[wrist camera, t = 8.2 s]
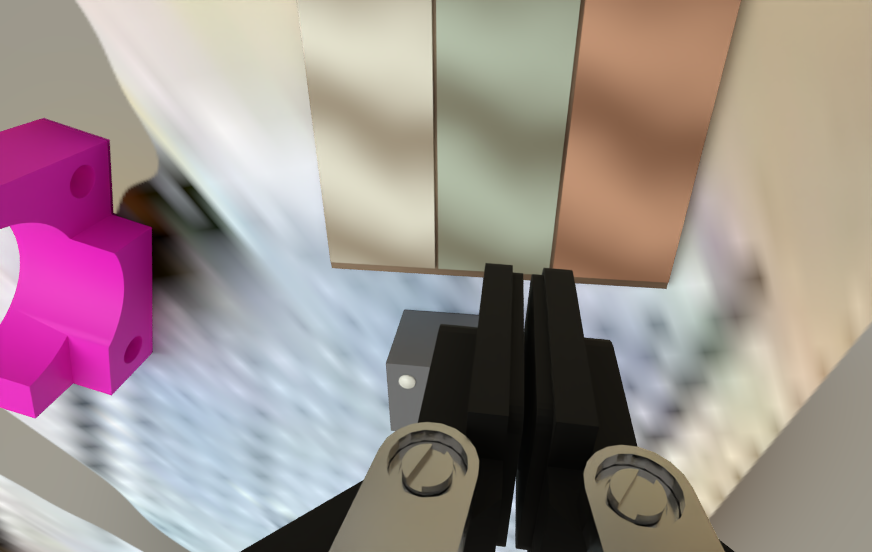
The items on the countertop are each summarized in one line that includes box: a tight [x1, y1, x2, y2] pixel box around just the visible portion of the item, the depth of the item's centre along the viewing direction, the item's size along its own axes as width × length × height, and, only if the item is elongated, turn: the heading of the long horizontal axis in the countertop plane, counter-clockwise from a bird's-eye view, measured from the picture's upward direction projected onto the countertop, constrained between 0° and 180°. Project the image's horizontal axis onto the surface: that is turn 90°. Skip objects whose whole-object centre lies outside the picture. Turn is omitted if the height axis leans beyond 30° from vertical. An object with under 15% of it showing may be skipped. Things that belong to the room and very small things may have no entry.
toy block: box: [0, 118, 153, 418], centre depth 29 cm, size 15×6×8 cm, turn 163°
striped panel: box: [296, 0, 741, 289], centre depth 25 cm, size 17×18×1 cm
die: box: [386, 310, 479, 431], centre depth 30 cm, size 5×5×5 cm
